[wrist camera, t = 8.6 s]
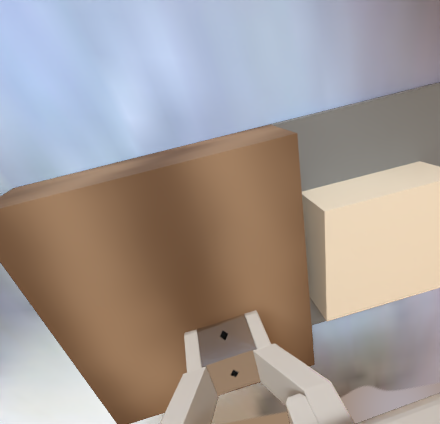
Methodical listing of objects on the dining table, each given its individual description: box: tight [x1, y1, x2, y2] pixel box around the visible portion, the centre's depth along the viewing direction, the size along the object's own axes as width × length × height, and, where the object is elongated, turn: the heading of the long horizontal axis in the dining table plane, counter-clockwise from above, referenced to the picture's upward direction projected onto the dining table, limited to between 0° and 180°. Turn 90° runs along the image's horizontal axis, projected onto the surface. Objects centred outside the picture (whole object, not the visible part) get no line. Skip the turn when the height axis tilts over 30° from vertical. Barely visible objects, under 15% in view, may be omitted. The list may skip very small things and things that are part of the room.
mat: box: [270, 82, 440, 325], centre depth 16 cm, size 11×14×1 cm
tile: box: [302, 161, 440, 321], centre depth 14 cm, size 7×7×2 cm
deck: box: [0, 125, 314, 424], centre depth 14 cm, size 12×14×3 cm
